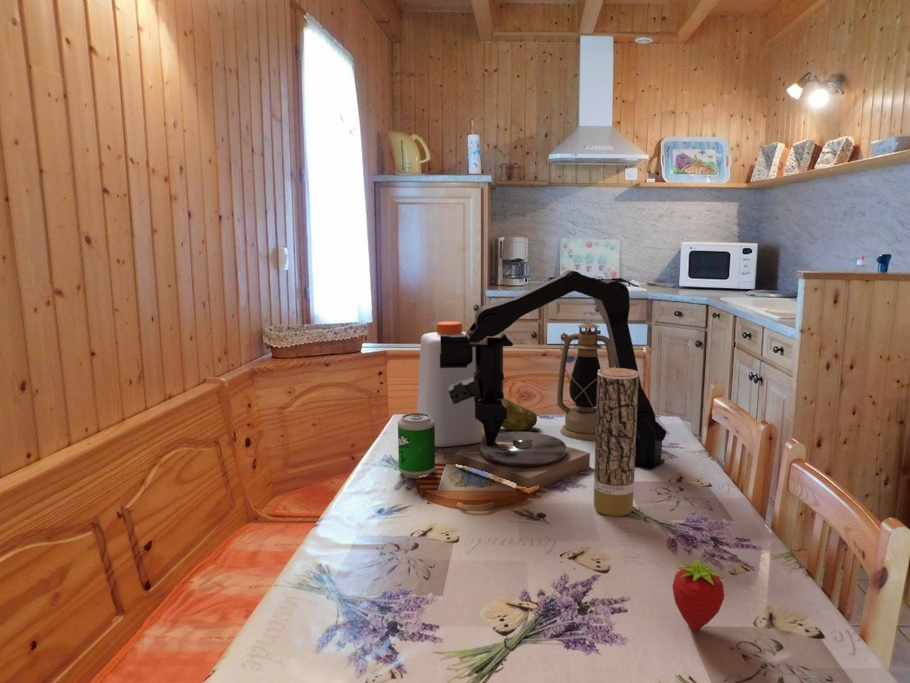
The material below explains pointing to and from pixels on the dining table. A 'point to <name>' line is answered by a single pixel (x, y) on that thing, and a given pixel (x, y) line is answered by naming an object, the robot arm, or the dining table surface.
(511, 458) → the handwheel
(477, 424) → the plastic bottle
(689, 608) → the strawberry
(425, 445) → the soda can
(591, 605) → the dining table surface
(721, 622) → the dining table surface
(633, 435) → the paper tube
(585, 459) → the wheel base
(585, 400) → the lantern
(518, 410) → the potato
